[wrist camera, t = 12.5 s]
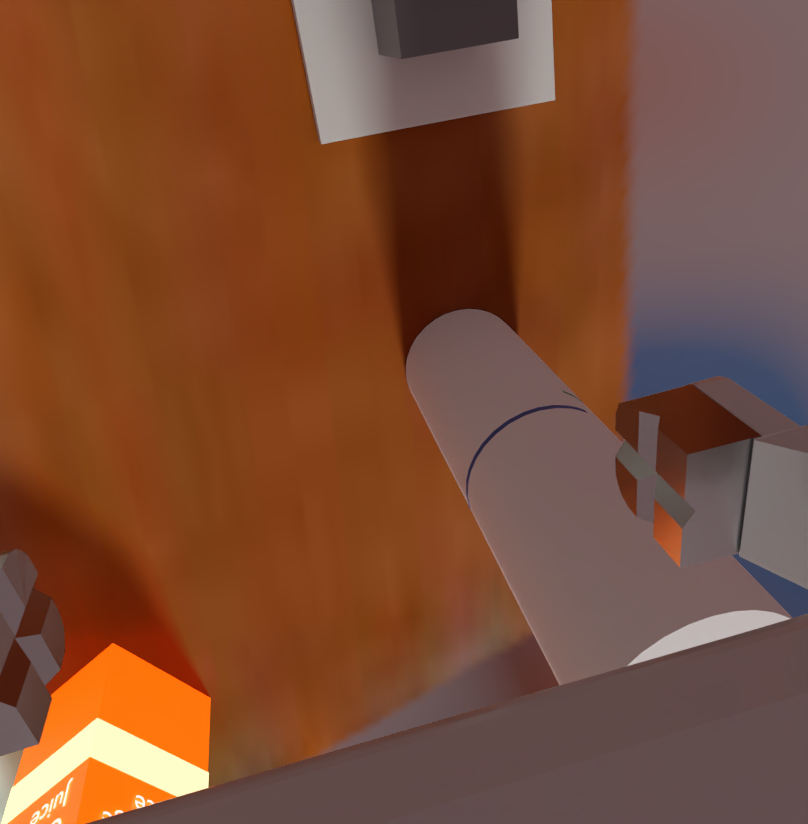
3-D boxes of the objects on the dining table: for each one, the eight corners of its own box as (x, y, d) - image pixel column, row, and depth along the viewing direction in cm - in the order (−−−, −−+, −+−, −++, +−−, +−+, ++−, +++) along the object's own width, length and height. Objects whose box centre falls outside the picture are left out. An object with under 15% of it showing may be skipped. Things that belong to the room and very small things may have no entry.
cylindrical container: (421, 299, 40) (645, 606, 18) (533, 318, 42) (854, 613, 20) (393, 410, 43) (557, 787, 21) (499, 422, 45) (747, 777, 23)
